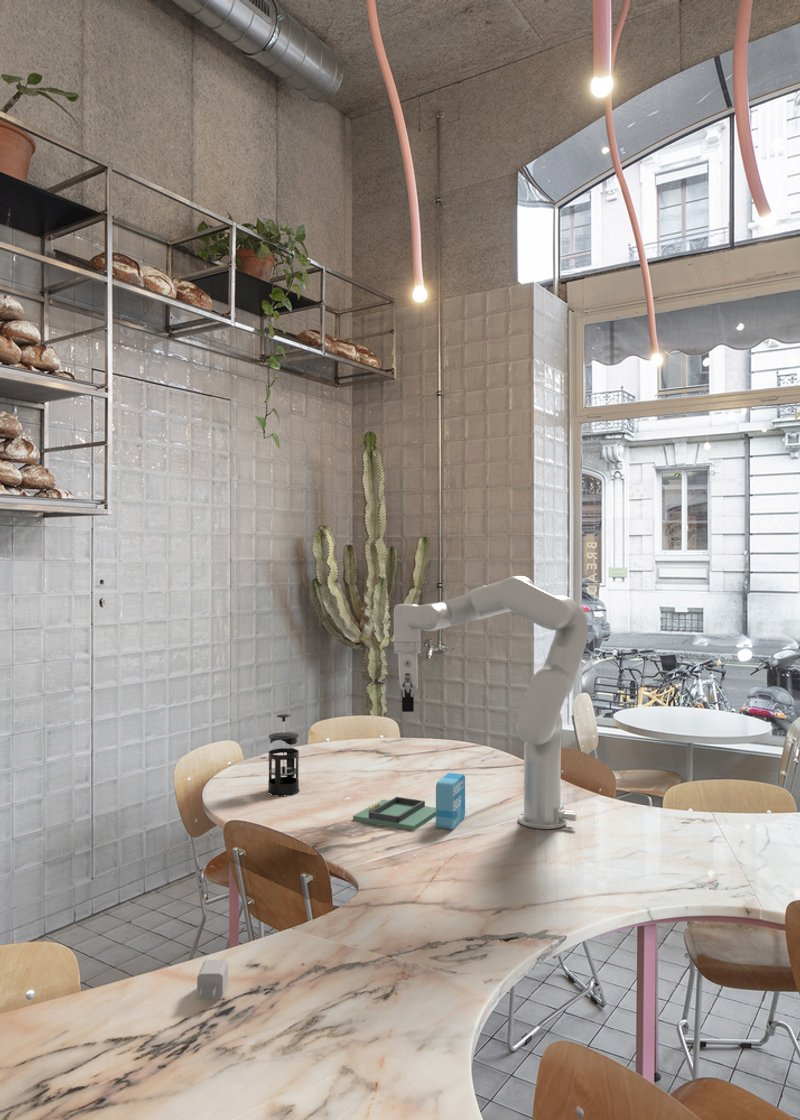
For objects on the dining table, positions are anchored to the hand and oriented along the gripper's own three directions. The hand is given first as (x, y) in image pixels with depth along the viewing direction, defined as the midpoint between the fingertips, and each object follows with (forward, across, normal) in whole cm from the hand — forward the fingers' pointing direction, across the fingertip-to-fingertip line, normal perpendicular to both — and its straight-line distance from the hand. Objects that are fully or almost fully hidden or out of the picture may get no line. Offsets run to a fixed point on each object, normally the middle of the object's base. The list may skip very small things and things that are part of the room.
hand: (407, 708), depth 224 cm
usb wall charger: (+28, -99, +32) cm, 107 cm away
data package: (+28, -15, -11) cm, 33 cm away
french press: (+27, +14, +37) cm, 48 cm away
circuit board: (+27, -10, +3) cm, 29 cm away
